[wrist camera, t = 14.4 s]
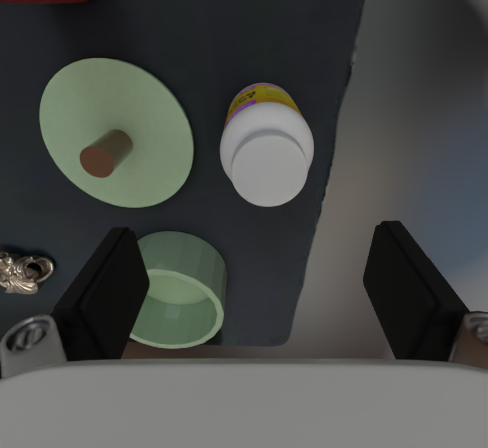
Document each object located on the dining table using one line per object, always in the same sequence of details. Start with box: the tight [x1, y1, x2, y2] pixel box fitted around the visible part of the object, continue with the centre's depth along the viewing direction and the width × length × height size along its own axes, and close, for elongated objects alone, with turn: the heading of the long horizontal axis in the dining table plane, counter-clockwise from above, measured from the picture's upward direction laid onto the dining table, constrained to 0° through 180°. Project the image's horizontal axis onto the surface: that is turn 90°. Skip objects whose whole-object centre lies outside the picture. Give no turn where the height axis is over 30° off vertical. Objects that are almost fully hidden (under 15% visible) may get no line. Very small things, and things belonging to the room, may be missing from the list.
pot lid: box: [40, 57, 194, 208], centre depth 27 cm, size 15×15×6 cm
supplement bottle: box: [220, 83, 314, 207], centre depth 23 cm, size 7×7×13 cm
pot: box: [130, 231, 227, 349], centre depth 36 cm, size 14×14×7 cm
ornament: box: [0, 250, 54, 294], centre depth 37 cm, size 8×7×4 cm
